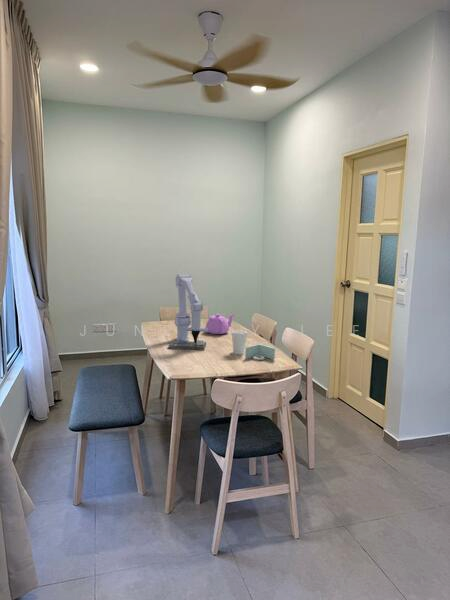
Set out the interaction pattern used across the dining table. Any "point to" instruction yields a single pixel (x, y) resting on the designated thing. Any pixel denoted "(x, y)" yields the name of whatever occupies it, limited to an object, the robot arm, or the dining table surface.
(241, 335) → the foam cup
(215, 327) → the teapot
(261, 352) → the l-shaped corner panel
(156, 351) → the dining table surface
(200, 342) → the fader
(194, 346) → the fader panel
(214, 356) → the dining table surface
